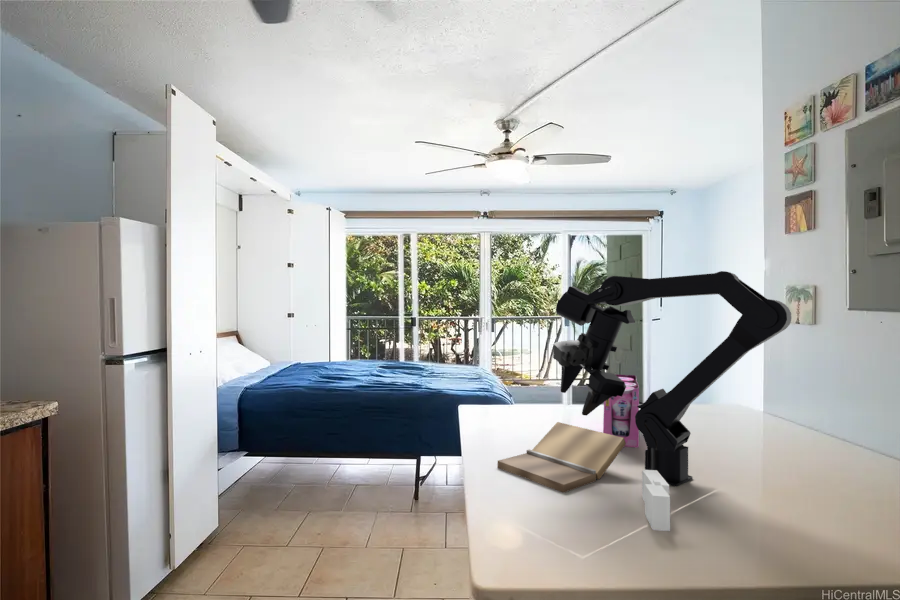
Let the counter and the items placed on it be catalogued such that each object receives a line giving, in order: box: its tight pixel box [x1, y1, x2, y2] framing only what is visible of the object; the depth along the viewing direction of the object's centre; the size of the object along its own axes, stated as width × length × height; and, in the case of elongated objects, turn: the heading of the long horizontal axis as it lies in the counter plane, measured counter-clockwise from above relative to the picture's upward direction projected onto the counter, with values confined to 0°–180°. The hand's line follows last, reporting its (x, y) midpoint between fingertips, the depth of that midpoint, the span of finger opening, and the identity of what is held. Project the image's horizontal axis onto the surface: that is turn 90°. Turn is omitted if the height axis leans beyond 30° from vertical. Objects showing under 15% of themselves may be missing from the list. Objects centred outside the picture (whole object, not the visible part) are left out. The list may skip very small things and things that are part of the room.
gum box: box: [602, 373, 640, 448], centre depth 121 cm, size 24×8×14 cm, turn 161°
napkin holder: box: [641, 469, 671, 532], centre depth 75 cm, size 15×11×6 cm
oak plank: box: [532, 421, 626, 480], centre depth 98 cm, size 16×10×2 cm, turn 38°
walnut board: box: [497, 448, 597, 493], centre depth 92 cm, size 16×9×2 cm, turn 38°
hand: (573, 403), depth 103 cm, fingers open, 9 cm apart
